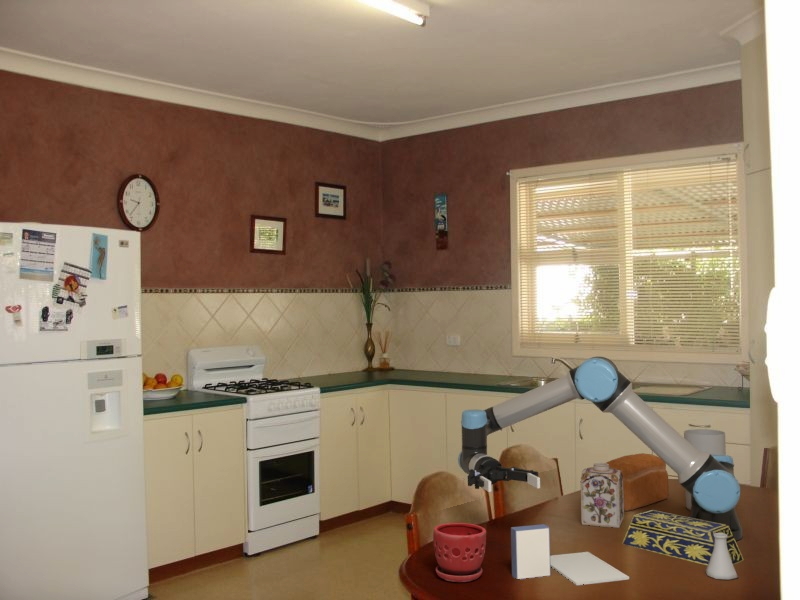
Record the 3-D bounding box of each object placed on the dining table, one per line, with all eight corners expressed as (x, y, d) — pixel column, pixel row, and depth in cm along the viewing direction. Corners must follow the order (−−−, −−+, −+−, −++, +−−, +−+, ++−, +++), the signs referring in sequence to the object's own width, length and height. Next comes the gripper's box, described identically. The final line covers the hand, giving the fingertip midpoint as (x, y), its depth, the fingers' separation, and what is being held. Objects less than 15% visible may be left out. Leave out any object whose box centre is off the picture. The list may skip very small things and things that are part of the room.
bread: (593, 505, 261) (592, 458, 261) (636, 492, 278) (635, 448, 278) (629, 513, 250) (628, 463, 251) (672, 499, 268) (670, 453, 268)
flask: (700, 571, 193) (699, 531, 193) (728, 570, 194) (727, 529, 194) (714, 581, 186) (713, 539, 186) (743, 579, 187) (742, 538, 187)
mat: (539, 559, 206) (539, 556, 206) (587, 553, 209) (587, 551, 209) (576, 585, 185) (576, 582, 185) (629, 579, 189) (629, 576, 189)
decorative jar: (580, 525, 237) (579, 466, 237) (586, 516, 248) (584, 459, 248) (621, 528, 233) (619, 468, 233) (625, 518, 243) (623, 461, 244)
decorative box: (723, 571, 194) (722, 535, 194) (621, 545, 217) (620, 513, 218) (745, 561, 201) (744, 526, 201) (643, 537, 224) (642, 506, 224)
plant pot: (472, 589, 184) (471, 538, 185) (424, 580, 191) (423, 531, 192) (495, 572, 196) (494, 524, 196) (449, 564, 202) (448, 518, 203)
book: (512, 575, 193) (510, 527, 193) (545, 572, 195) (544, 524, 195) (516, 579, 190) (515, 530, 190) (550, 576, 192) (549, 527, 192)
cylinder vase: (708, 503, 261) (705, 428, 261) (736, 511, 249) (733, 433, 249) (677, 507, 256) (675, 431, 257) (705, 516, 244) (702, 436, 245)
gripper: (526, 479, 226) (558, 496, 205) (444, 485, 220) (469, 502, 199) (526, 453, 226) (558, 467, 206) (444, 458, 220) (468, 473, 200)
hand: (514, 484), depth 202 cm, fingers open, 13 cm apart
